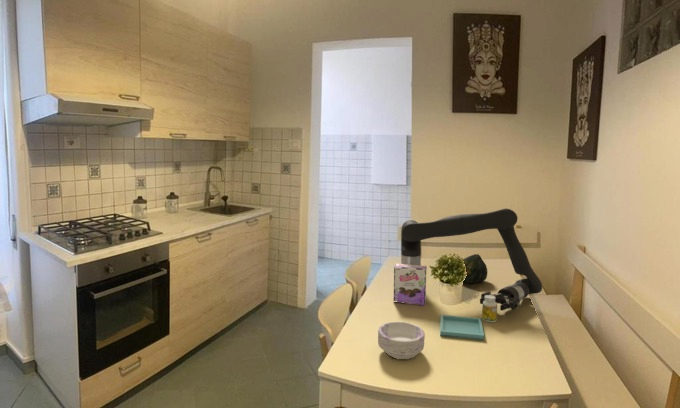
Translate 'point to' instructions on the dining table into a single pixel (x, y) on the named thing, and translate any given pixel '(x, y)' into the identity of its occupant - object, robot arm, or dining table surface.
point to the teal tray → (461, 327)
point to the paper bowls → (401, 339)
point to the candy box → (410, 283)
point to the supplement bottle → (489, 309)
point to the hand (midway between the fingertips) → (490, 304)
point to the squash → (475, 269)
